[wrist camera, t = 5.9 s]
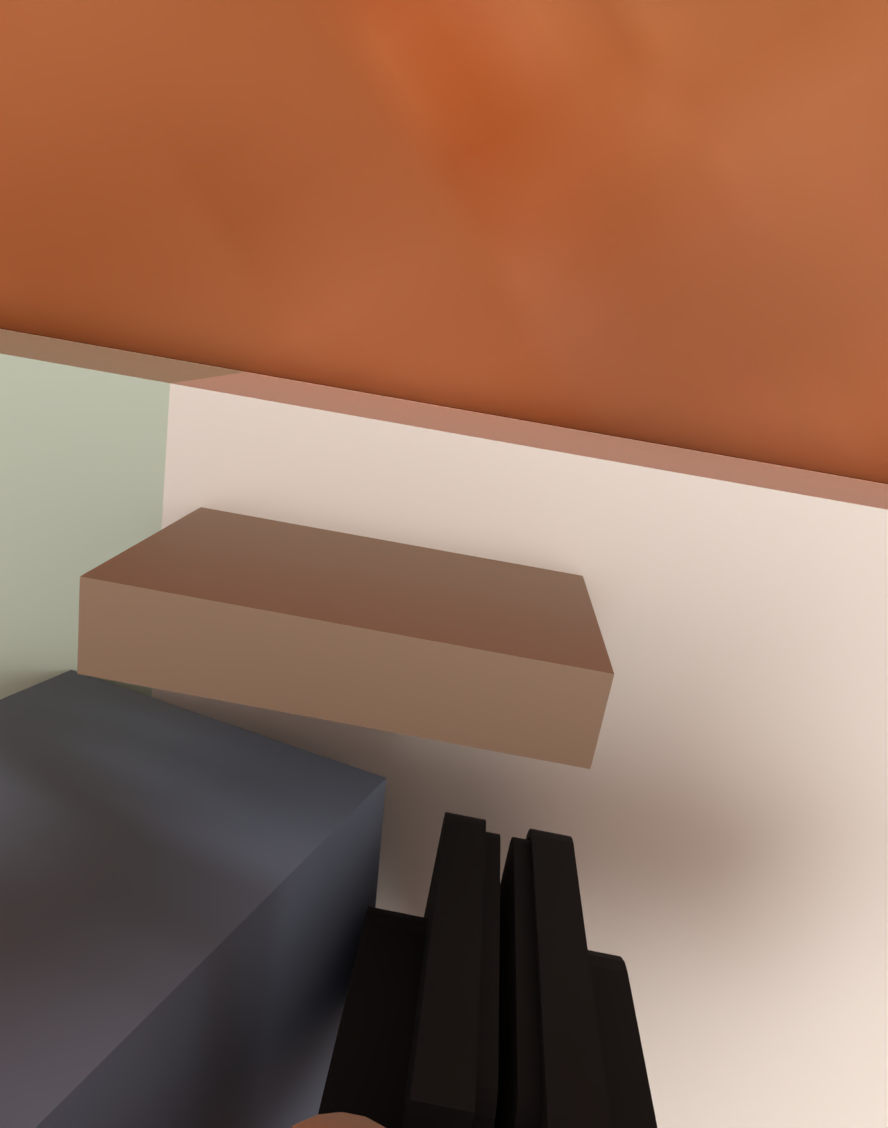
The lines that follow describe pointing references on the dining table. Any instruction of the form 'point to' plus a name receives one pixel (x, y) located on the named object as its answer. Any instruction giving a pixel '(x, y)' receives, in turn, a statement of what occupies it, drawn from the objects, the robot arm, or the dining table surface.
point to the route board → (508, 671)
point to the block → (171, 913)
